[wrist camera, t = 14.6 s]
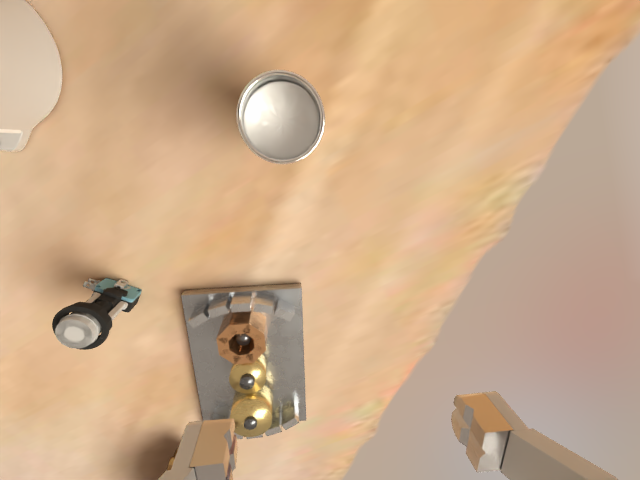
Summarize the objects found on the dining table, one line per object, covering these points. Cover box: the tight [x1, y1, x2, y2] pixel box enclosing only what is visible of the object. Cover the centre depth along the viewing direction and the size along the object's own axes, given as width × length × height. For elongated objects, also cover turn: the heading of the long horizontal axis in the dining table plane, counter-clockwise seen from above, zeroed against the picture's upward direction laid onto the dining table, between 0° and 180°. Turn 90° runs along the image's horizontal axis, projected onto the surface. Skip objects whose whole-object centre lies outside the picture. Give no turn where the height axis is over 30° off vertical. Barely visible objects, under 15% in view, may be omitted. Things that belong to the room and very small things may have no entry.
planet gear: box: [216, 307, 268, 365], centre depth 41 cm, size 6×6×4 cm
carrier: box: [181, 283, 306, 439], centre depth 44 cm, size 16×24×6 cm, turn 1°
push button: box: [52, 278, 142, 349], centre depth 36 cm, size 7×5×10 cm
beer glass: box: [236, 70, 325, 164], centre depth 30 cm, size 7×7×15 cm
